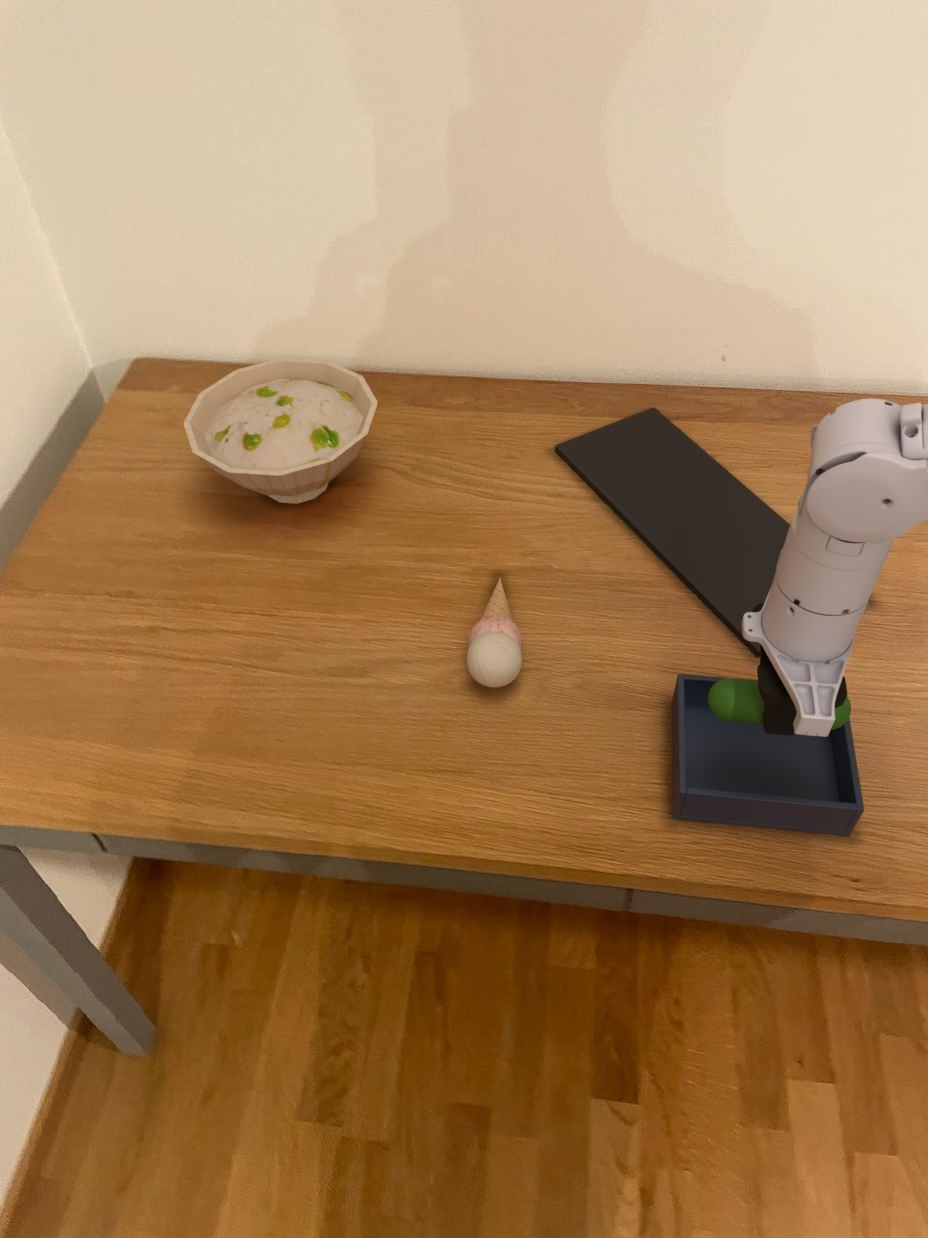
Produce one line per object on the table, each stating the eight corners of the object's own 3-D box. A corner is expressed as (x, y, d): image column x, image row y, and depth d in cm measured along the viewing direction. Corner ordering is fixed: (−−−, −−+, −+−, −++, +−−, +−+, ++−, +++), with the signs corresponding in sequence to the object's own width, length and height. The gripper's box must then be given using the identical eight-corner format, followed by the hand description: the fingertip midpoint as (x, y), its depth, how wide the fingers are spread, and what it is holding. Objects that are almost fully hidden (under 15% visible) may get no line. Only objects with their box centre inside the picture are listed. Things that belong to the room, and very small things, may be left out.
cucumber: (841, 704, 69) (853, 678, 66) (847, 740, 67) (859, 715, 64) (704, 693, 70) (710, 667, 67) (705, 728, 68) (712, 702, 65)
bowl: (381, 416, 105) (371, 339, 98) (393, 533, 93) (382, 454, 85) (211, 434, 104) (187, 357, 97) (199, 555, 92) (171, 477, 84)
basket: (831, 716, 76) (844, 687, 73) (849, 836, 69) (864, 810, 66) (671, 702, 78) (677, 673, 75) (672, 818, 71) (679, 792, 68)
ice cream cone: (489, 603, 90) (481, 706, 78) (466, 567, 88) (454, 666, 76) (533, 586, 88) (531, 688, 76) (510, 548, 86) (505, 647, 74)
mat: (869, 601, 84) (872, 595, 84) (757, 657, 81) (759, 651, 80) (653, 412, 104) (653, 406, 103) (554, 451, 100) (554, 445, 99)
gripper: (749, 499, 62) (716, 629, 73) (765, 668, 53) (725, 789, 63) (858, 505, 62) (809, 636, 72) (893, 678, 52) (831, 800, 63)
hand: (776, 708), depth 68 cm, fingers closed on cucumber, 3 cm apart
